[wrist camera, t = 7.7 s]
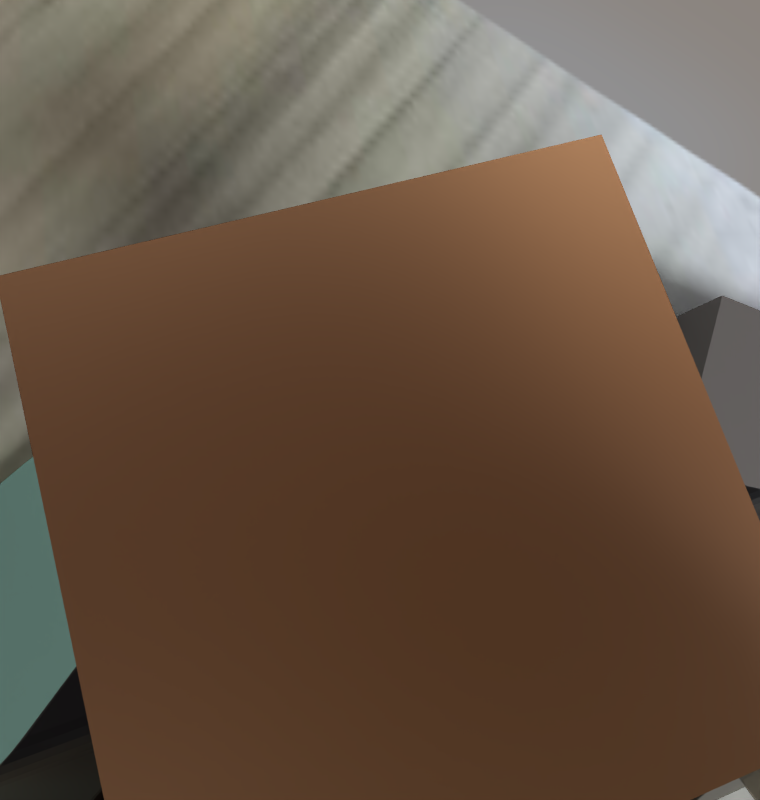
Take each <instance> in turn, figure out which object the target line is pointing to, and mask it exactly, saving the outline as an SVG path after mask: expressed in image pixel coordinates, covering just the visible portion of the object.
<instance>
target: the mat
mask: <svg viewBox="0 0 760 800" xmlns="http://www.w3.org/2000/svg"><path fill="white" fill-rule="evenodd" d="M75 667H76V662H75V657H74V652H73V647H72V642H71V638H70V633H69V628H68V623H67V618H66V613H65V609H64V604H63V599H62V594H61V589H60V584H59V580H58V575H57V570H56V565H55V560H54V555H53V550H52V546H51V541H50V536H49V531H48V526H47V521H46V517H45V512H44V507H43V502H42V497H41V492H40V488H39V483H38V478H37V473H36V468H35V463H34V459H33V457H32V458H31V459H29V460H28V461H27V462H26V463H25V464H23V465H22V466H21V467H20V468H18V469H17V470H16V471H15V472H14V473H12V474H11V475H10V476H9V477H8V478H6V479H5V480H4V481H3V482H2V483H0V764H1V763H2V762H3V761H4V759H5V758H6V757H7V756H8V755H9V754H10V753H11V752H12V750H13V749H14V748H15V747H16V745H17V744H18V743H19V741H20V740H21V739H22V738H23V736H24V735H25V734H26V732H27V731H28V730H29V728H30V727H31V726H32V724H33V723H34V722H35V720H36V719H37V718H38V716H39V715H40V714H41V712H42V711H43V710H44V708H45V707H46V706H47V704H48V703H49V702H50V700H51V699H52V698H53V696H54V695H55V694H56V692H57V691H58V690H59V688H60V687H61V686H62V684H63V683H64V682H65V680H66V679H67V678H68V676H69V675H70V674H71V672H72V671H73V670H74V668H75Z"/></svg>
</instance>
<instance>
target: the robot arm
mask: <svg viewBox="0 0 760 800" xmlns="http://www.w3.org/2000/svg"><path fill="white" fill-rule="evenodd" d="M745 486H746V485H745ZM746 489H747V491H748V494H749V496H750V499H751V501H752V504H753V506H754V508H755V511H756V513H757V516H758V518H759V521H760V489H759V488H755V487H750V486H746ZM743 787H746V789H747V790H748V791H749V793H750V794H751V795H752V797H753V798H754V799H755V800H760V769H758V770H756V771H754V772H751V773H749V774H747V775H745V776H743V777H740V778H738V779H736V780H734V781H731V782H729V783H727V784H725V785H722V786H720V787H718V788H716V789H714V790H711V791H709V792H707V793H705V794H702V795H700V796H698V797H696V798H694V799H691V800H717V799H719V798H722V797H724V796H726V795H728V794H730V793H733V792H735V791H737V790H739V789H741V788H743ZM0 800H104V797H103V792H102V787H101V783H100V778H99V773H98V768H97V763H96V758H95V754H94V749H93V744H92V739H91V734H90V729H89V725H88V720H87V715H86V710H85V705H84V700H83V696H82V691H81V686H80V681H79V676H78V671H77V667H75V668H74V670H73V671H72V672H71V674H70V675H69V676H68V678H67V679H66V680H65V682H64V683H63V684H62V686H61V687H60V688H59V690H58V691H57V692H56V694H55V695H54V696H53V698H52V699H51V700H50V702H49V703H48V704H47V706H46V707H45V708H44V710H43V711H42V712H41V714H40V715H39V716H38V718H37V719H36V720H35V722H34V723H33V724H32V726H31V727H30V728H29V730H28V731H27V732H26V734H25V735H24V736H23V738H22V739H21V740H20V741H19V743H18V744H17V745H16V747H15V748H14V749H13V750H12V752H11V753H10V754H9V755H8V756H7V757H6V758H5V759H4V761H3V762H2V763H1V764H0Z"/></svg>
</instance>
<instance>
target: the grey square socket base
mask: <svg viewBox="0 0 760 800" xmlns="http://www.w3.org/2000/svg"><path fill="white" fill-rule="evenodd" d="M678 323H679V325H680V328H681V330H682V333H683V335H684V338H685V340H686V342H687V345H688V347H689V350H690V352H691V355H692V357H693V360H694V362H695V364H696V367H697V369H698V372H699V374H700V377H701V379H702V381H703V384H704V386H705V389H706V391H707V394H708V396H709V399H710V401H711V403H712V406H713V408H714V411H715V413H716V416H717V418H718V421H719V423H720V425H721V428H722V430H723V433H724V435H725V438H726V440H727V443H728V445H729V447H730V450H731V452H732V455H733V457H734V460H735V462H736V465H737V467H738V469H739V472H740V474H741V477H742V479H743V482H744V484H745V485H746V486H750V487H755V488H759V489H760V311H759V310H757V309H754V308H752V307H749V306H747V305H744V304H742V303H739V302H737V301H734V300H732V299H729V298H727V297H724V296H721V297H718V298H716V299H714V300H712V301H710V302H708V303H705V304H703V305H701V306H699V307H697V308H695V309H692V310H690V311H688V312H686V313H684V314H681V315H679V316H678Z"/></svg>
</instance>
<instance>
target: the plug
mask: <svg viewBox="0 0 760 800" xmlns="http://www.w3.org/2000/svg"><path fill="white" fill-rule="evenodd" d="M0 299H1V304H2V309H3V314H4V318H5V323H6V328H7V333H8V338H9V343H10V347H11V352H12V357H13V362H14V367H15V372H16V376H17V381H18V386H19V391H20V396H21V401H22V405H23V410H24V415H25V420H26V425H27V430H28V434H29V439H30V444H31V449H32V454H33V459H34V463H35V468H36V473H37V478H38V483H39V488H40V492H41V497H42V502H43V507H44V512H45V517H46V521H47V526H48V531H49V536H50V541H51V546H52V550H53V555H54V560H55V565H56V570H57V575H58V580H59V584H60V589H61V594H62V599H63V604H64V609H65V613H66V618H67V623H68V628H69V633H70V638H71V642H72V647H73V652H74V657H75V662H76V667H77V671H78V676H79V681H80V686H81V691H82V696H83V700H84V705H85V710H86V715H87V720H88V725H89V729H90V734H91V739H92V744H93V749H94V754H95V758H96V763H97V768H98V773H99V778H100V783H101V787H102V792H103V797H104V800H691V799H694V798H696V797H698V796H700V795H702V794H705V793H707V792H709V791H711V790H714V789H716V788H718V787H720V786H722V785H725V784H727V783H729V782H731V781H734V780H736V779H738V778H740V777H743V776H745V775H747V774H749V773H751V772H754V771H756V770H758V769H760V521H759V518H758V516H757V513H756V511H755V508H754V506H753V504H752V501H751V499H750V496H749V494H748V491H747V489H746V486H745V484H744V482H743V479H742V477H741V474H740V472H739V469H738V467H737V465H736V462H735V460H734V457H733V455H732V452H731V450H730V447H729V445H728V443H727V440H726V438H725V435H724V433H723V430H722V428H721V425H720V423H719V421H718V418H717V416H716V413H715V411H714V408H713V406H712V403H711V401H710V399H709V396H708V394H707V391H706V389H705V386H704V384H703V381H702V379H701V377H700V374H699V372H698V369H697V367H696V364H695V362H694V360H693V357H692V355H691V352H690V350H689V347H688V345H687V342H686V340H685V338H684V335H683V333H682V330H681V328H680V325H679V323H678V320H677V318H676V316H675V313H674V311H673V308H672V306H671V303H670V301H669V298H668V296H667V294H666V291H665V289H664V286H663V284H662V281H661V279H660V276H659V274H658V272H657V269H656V267H655V264H654V262H653V259H652V257H651V255H650V252H649V250H648V247H647V245H646V242H645V240H644V237H643V235H642V233H641V230H640V228H639V225H638V223H637V220H636V218H635V215H634V213H633V211H632V208H631V206H630V203H629V201H628V198H627V196H626V193H625V191H624V189H623V186H622V184H621V181H620V179H619V176H618V174H617V171H616V169H615V167H614V164H613V162H612V159H611V157H610V154H609V152H608V150H607V147H606V145H605V142H604V140H603V137H602V135H598V136H594V137H589V138H585V139H581V140H577V141H572V142H568V143H564V144H559V145H555V146H551V147H547V148H542V149H538V150H534V151H530V152H525V153H521V154H517V155H512V156H508V157H504V158H500V159H495V160H491V161H487V162H483V163H478V164H474V165H470V166H466V167H461V168H457V169H453V170H448V171H444V172H440V173H436V174H431V175H427V176H423V177H419V178H414V179H410V180H406V181H401V182H397V183H393V184H389V185H384V186H380V187H376V188H372V189H367V190H363V191H359V192H355V193H350V194H346V195H342V196H337V197H333V198H329V199H325V200H320V201H316V202H312V203H308V204H303V205H299V206H295V207H290V208H286V209H282V210H278V211H273V212H269V213H265V214H261V215H256V216H252V217H248V218H244V219H239V220H235V221H231V222H226V223H222V224H218V225H214V226H209V227H205V228H201V229H197V230H192V231H188V232H184V233H179V234H175V235H171V236H167V237H162V238H158V239H154V240H150V241H145V242H141V243H137V244H133V245H128V246H124V247H120V248H115V249H111V250H107V251H103V252H98V253H94V254H90V255H86V256H81V257H77V258H73V259H68V260H64V261H60V262H56V263H51V264H47V265H43V266H39V267H34V268H30V269H26V270H22V271H17V272H13V273H9V274H4V275H0Z"/></svg>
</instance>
